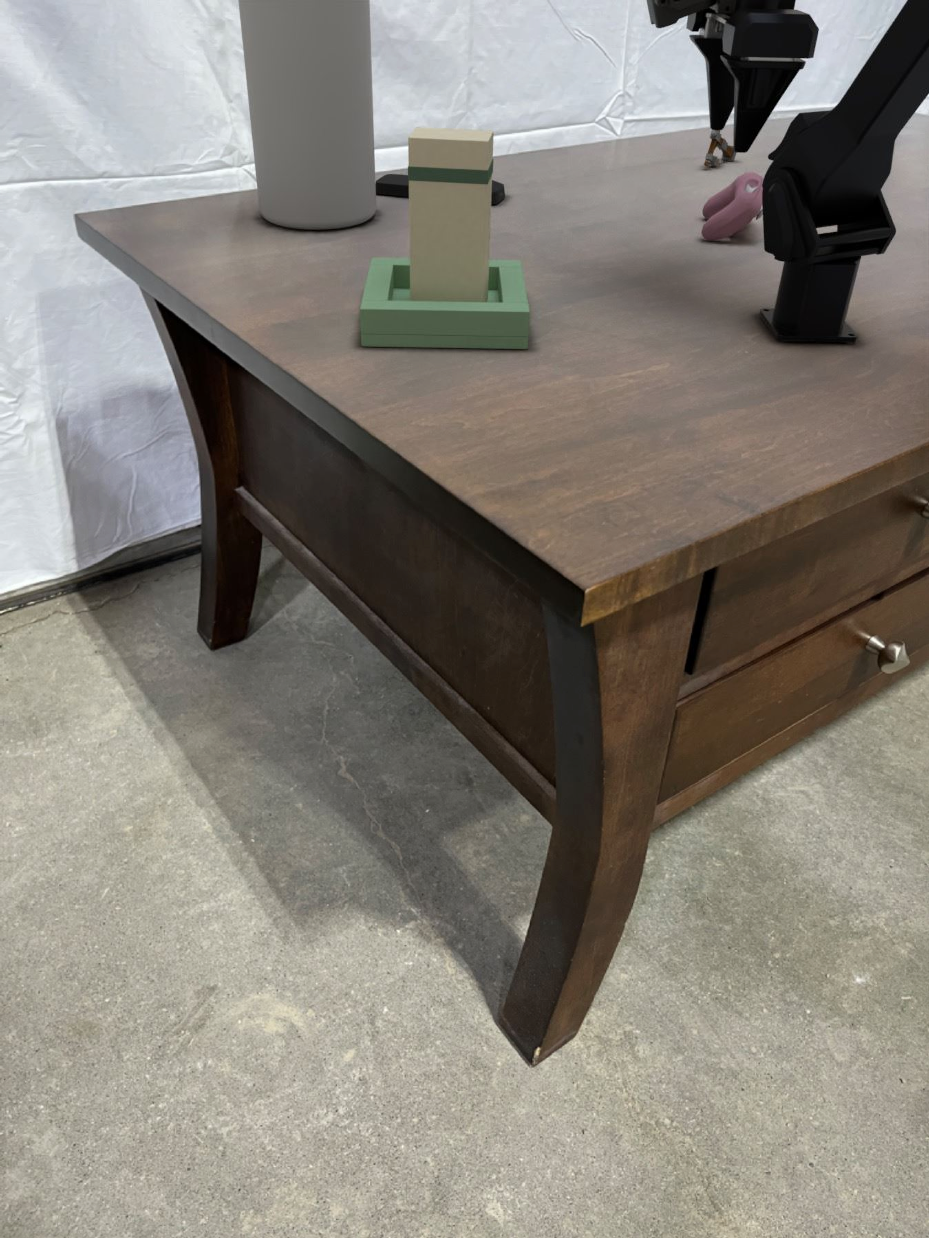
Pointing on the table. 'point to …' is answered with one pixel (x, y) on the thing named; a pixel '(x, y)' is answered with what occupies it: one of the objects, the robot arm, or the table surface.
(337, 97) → the cylinder vase
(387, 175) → the remote control
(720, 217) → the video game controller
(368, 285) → the green rectangular tray
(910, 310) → the table surface
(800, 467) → the table surface
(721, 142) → the grey brown angular piece
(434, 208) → the cream rectangular block
